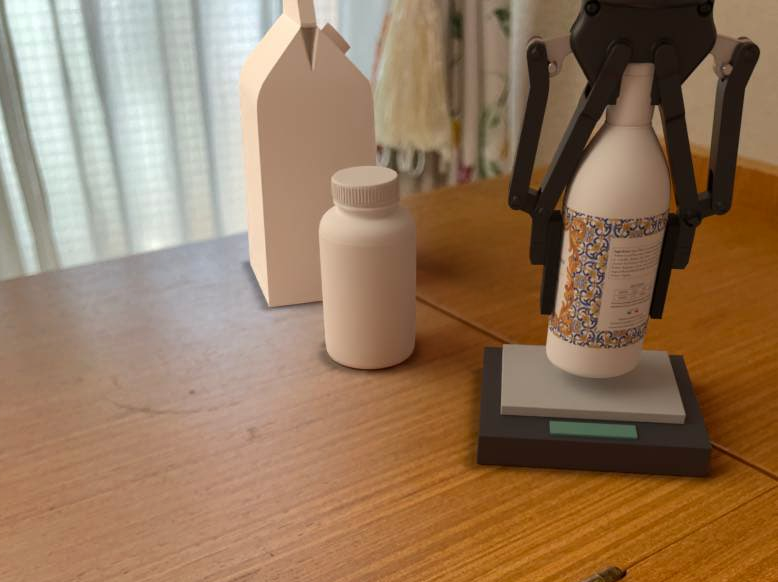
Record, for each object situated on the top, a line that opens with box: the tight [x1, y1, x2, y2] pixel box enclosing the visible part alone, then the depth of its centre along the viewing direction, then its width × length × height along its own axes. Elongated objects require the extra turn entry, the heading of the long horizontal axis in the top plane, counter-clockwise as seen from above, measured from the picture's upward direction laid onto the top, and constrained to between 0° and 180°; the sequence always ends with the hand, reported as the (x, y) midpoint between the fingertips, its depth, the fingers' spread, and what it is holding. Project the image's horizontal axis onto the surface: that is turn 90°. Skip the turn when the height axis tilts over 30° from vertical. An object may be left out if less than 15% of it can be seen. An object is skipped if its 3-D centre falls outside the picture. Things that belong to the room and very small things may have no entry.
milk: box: [238, 0, 378, 308], centre depth 82 cm, size 12×12×26 cm
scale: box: [476, 343, 713, 478], centre depth 66 cm, size 16×14×3 cm
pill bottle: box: [319, 165, 417, 370], centre depth 72 cm, size 8×8×15 cm
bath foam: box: [545, 63, 672, 378], centre depth 59 cm, size 7×7×20 cm
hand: (599, 308), depth 63 cm, fingers closed on bath foam, 7 cm apart
